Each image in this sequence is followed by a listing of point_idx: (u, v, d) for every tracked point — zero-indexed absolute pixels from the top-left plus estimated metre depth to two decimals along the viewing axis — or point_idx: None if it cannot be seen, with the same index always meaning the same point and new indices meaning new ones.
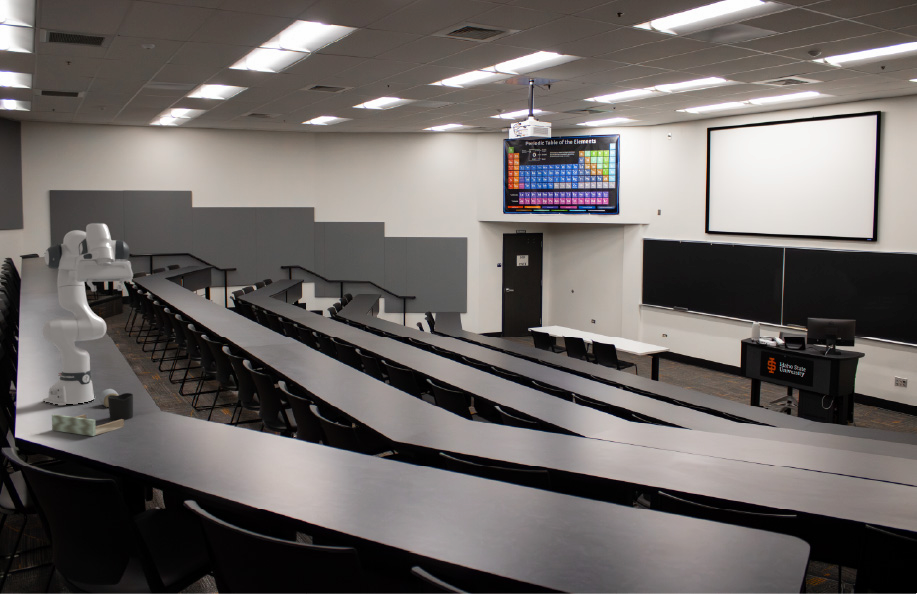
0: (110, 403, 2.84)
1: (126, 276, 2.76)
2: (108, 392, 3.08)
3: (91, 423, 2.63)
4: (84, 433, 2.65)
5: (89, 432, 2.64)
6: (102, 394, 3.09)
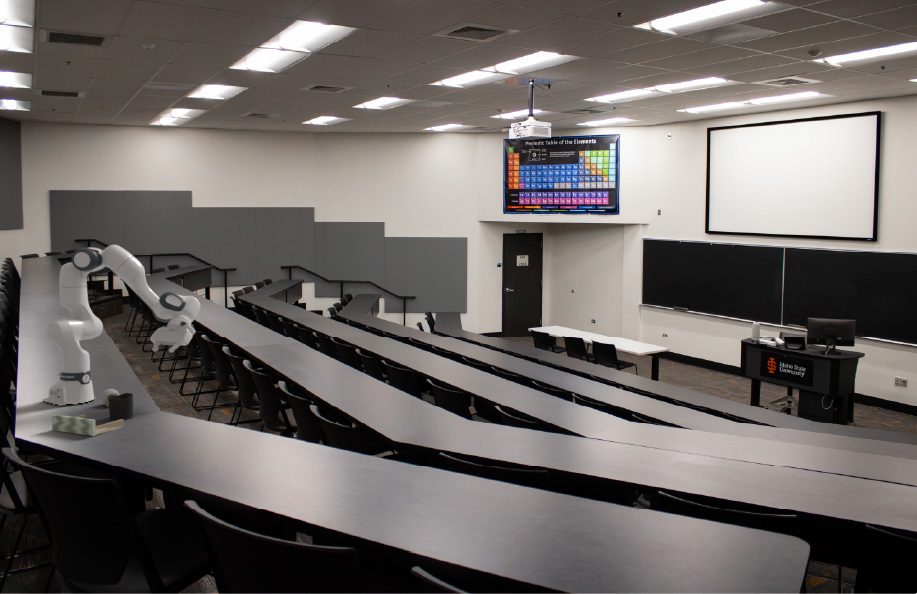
0: (110, 403, 2.84)
1: None
2: (109, 392, 3.08)
3: (91, 423, 2.63)
4: (84, 433, 2.65)
5: (89, 432, 2.64)
6: (103, 394, 3.09)
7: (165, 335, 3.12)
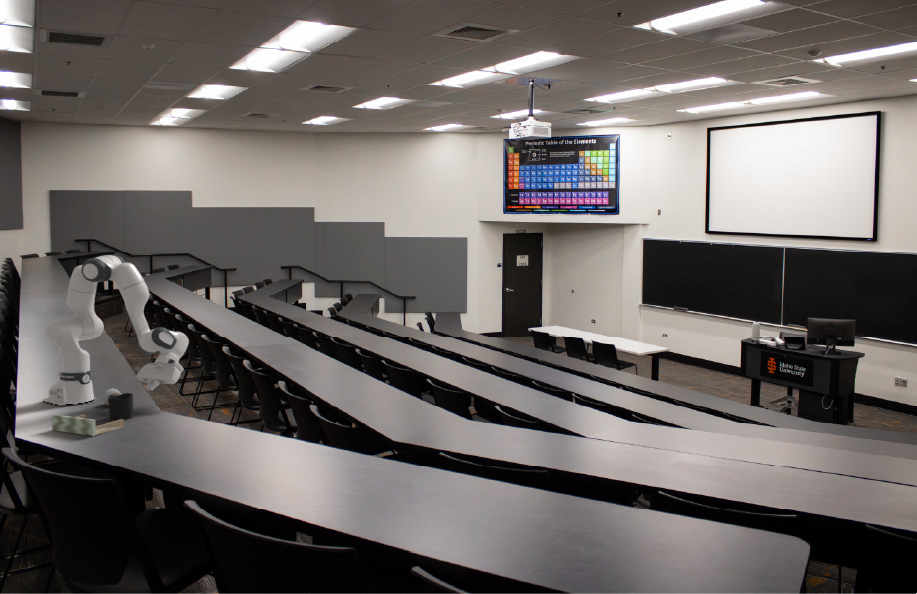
0: (110, 403, 2.84)
1: None
2: (111, 392, 3.09)
3: (91, 423, 2.63)
4: (84, 433, 2.65)
5: (89, 432, 2.64)
6: (105, 394, 3.09)
7: (152, 373, 3.06)
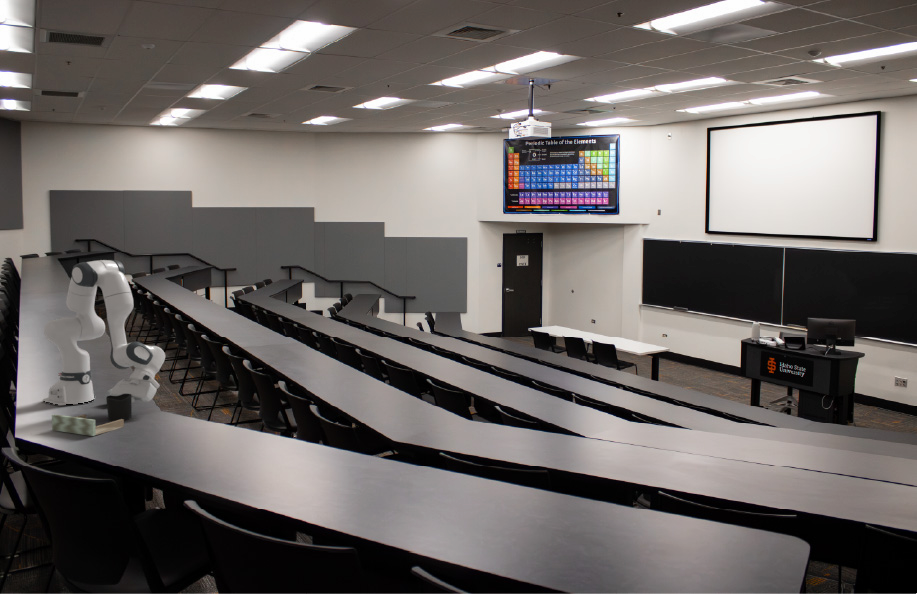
0: (108, 403, 2.83)
1: None
2: None
3: (91, 423, 2.63)
4: (84, 433, 2.65)
5: (89, 432, 2.64)
6: (107, 394, 3.10)
7: (126, 390, 2.93)
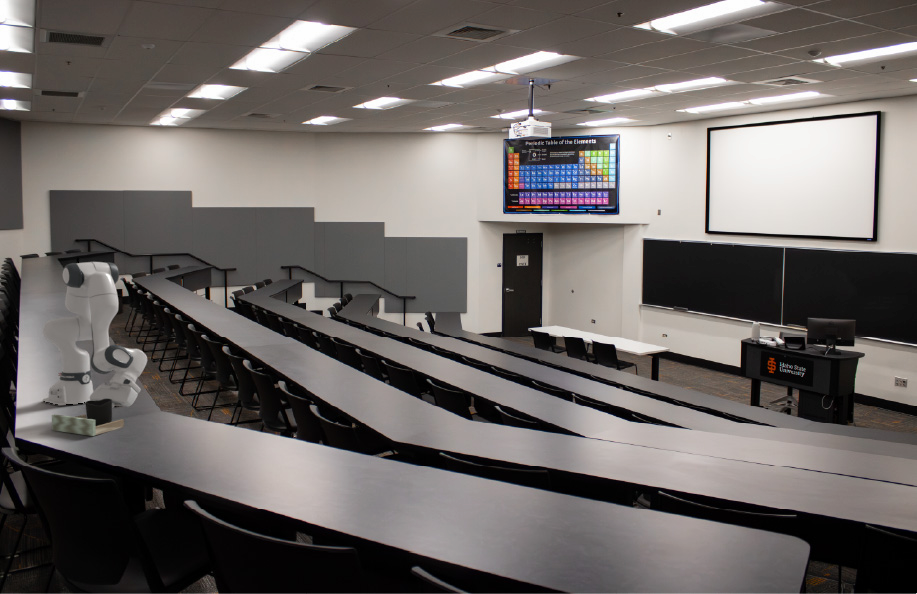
0: (87, 409, 2.73)
1: None
2: None
3: (91, 423, 2.63)
4: (84, 433, 2.65)
5: (89, 432, 2.64)
6: None
7: (106, 394, 2.83)
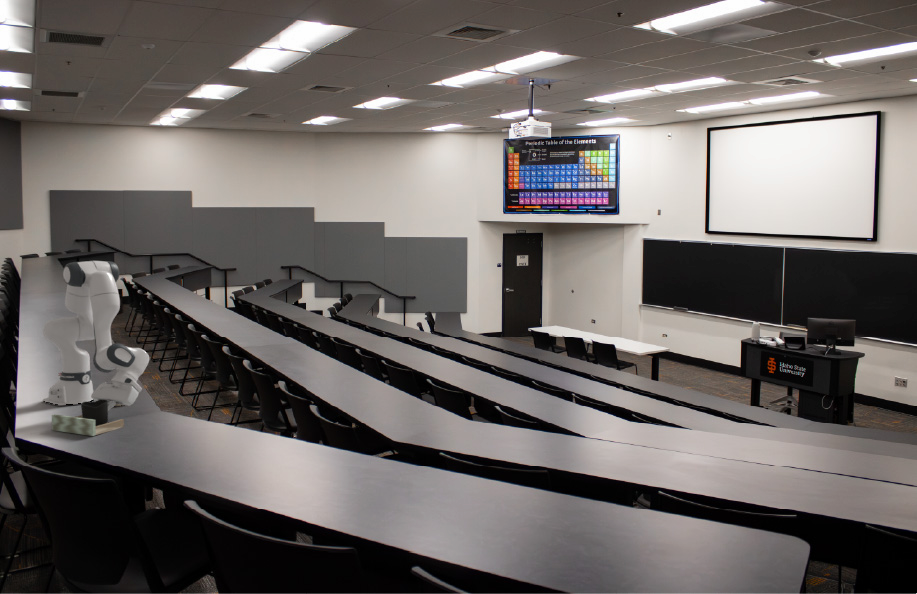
0: (82, 410, 2.71)
1: None
2: None
3: (91, 423, 2.63)
4: (84, 433, 2.65)
5: (89, 432, 2.64)
6: None
7: (107, 393, 2.84)
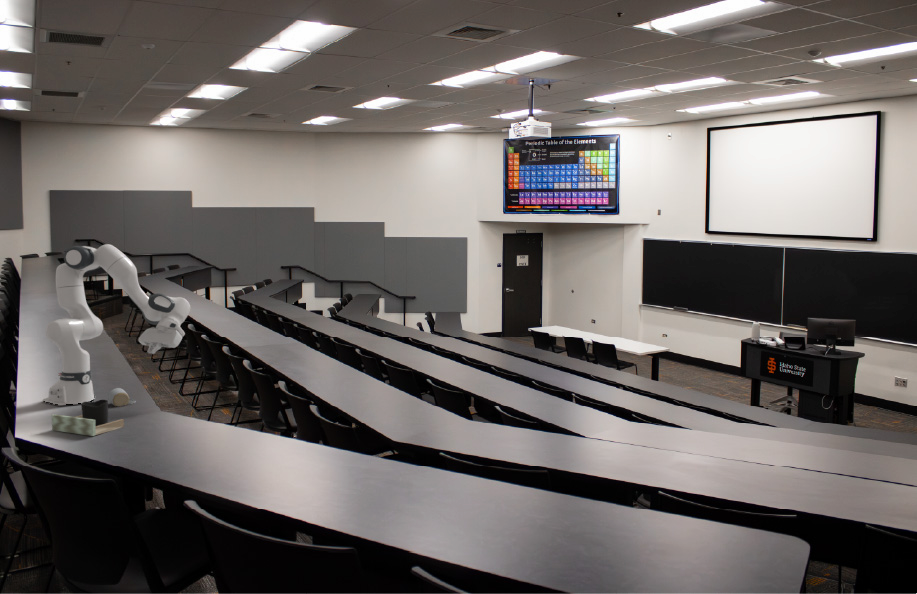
0: (83, 410, 2.72)
1: None
2: (117, 391, 3.10)
3: (91, 423, 2.63)
4: (84, 433, 2.65)
5: (89, 432, 2.64)
6: (111, 393, 3.11)
7: (154, 336, 3.08)
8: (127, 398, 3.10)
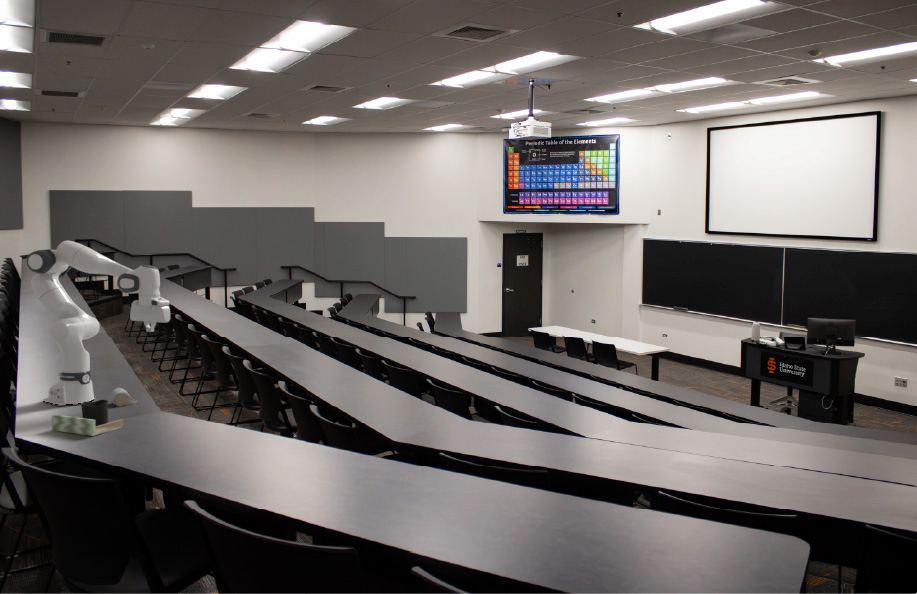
0: (83, 410, 2.71)
1: None
2: (118, 391, 3.10)
3: (91, 423, 2.63)
4: (84, 433, 2.65)
5: (89, 432, 2.64)
6: (112, 393, 3.11)
7: (143, 315, 3.10)
8: (128, 398, 3.11)
